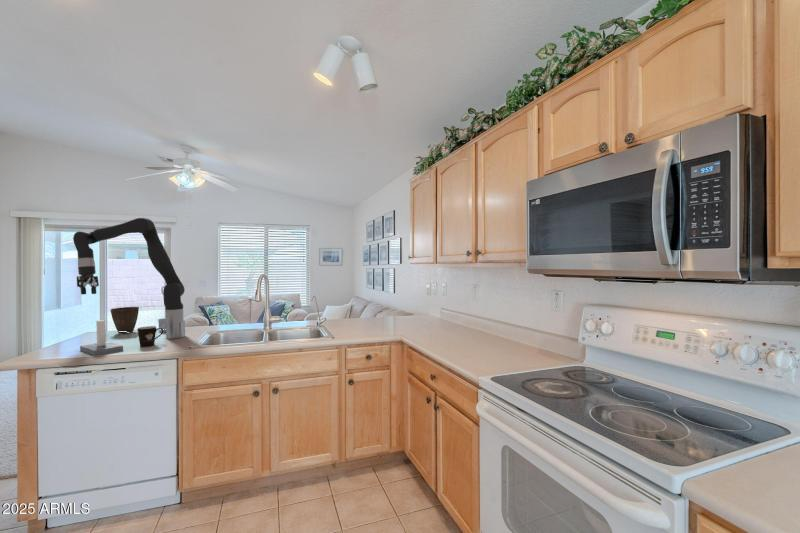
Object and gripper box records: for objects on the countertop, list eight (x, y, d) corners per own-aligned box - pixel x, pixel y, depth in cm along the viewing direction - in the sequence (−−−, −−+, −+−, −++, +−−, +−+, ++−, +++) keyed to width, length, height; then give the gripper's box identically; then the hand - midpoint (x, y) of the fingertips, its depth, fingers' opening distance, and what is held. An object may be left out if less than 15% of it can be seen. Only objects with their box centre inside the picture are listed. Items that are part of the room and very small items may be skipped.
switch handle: (97, 345, 191) (96, 320, 191) (104, 344, 194) (103, 320, 194) (98, 346, 190) (98, 321, 190) (105, 345, 193) (105, 320, 192)
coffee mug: (136, 348, 196) (135, 329, 196) (139, 345, 204) (138, 327, 204) (162, 345, 202) (161, 327, 202) (163, 342, 209) (163, 325, 209)
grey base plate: (80, 350, 193) (80, 345, 193) (108, 345, 203) (107, 341, 203) (94, 355, 182) (94, 350, 182) (123, 350, 192) (123, 345, 192)
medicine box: (164, 332, 240) (164, 319, 240) (158, 332, 241) (158, 318, 241) (174, 330, 248) (173, 317, 248) (168, 329, 249) (168, 317, 248)
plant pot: (106, 335, 230) (105, 310, 230) (117, 331, 245) (116, 307, 244) (134, 334, 234) (133, 309, 234) (143, 329, 249) (142, 306, 248)
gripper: (85, 265, 206) (87, 293, 206) (101, 266, 220) (104, 293, 220) (70, 266, 205) (72, 295, 205) (88, 267, 219) (90, 294, 219)
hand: (89, 294), depth 212 cm, fingers open, 8 cm apart
